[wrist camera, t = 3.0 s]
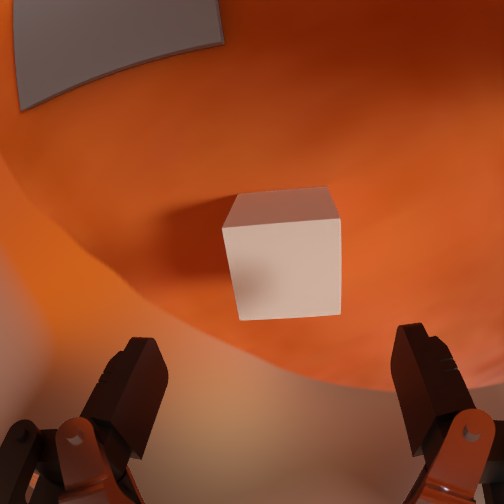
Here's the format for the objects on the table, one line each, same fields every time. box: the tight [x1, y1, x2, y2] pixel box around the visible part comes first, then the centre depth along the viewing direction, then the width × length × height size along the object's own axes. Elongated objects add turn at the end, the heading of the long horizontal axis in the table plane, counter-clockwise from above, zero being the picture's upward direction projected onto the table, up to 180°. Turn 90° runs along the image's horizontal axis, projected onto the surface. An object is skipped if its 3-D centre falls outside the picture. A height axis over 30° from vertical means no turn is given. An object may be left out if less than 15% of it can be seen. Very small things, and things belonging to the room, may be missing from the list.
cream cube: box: [222, 186, 341, 320], centre depth 17 cm, size 5×5×5 cm
